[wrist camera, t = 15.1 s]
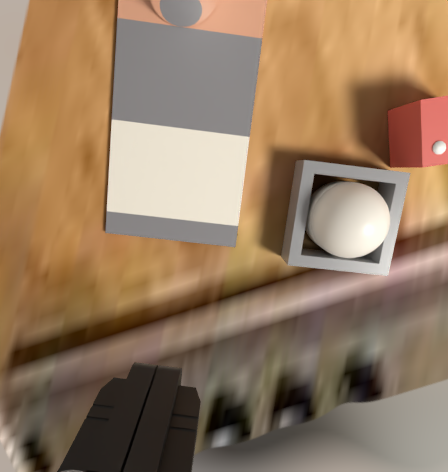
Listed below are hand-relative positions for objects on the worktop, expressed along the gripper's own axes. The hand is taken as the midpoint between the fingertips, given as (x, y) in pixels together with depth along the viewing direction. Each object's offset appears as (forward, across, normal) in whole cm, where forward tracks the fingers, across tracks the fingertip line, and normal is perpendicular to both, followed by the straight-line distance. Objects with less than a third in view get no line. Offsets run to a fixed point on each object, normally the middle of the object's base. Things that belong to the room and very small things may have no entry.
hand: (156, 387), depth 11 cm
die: (+24, -18, -9) cm, 31 cm away
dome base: (+23, -12, -1) cm, 26 cm away
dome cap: (+23, -12, -1) cm, 26 cm away
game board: (+23, +3, -11) cm, 26 cm away
